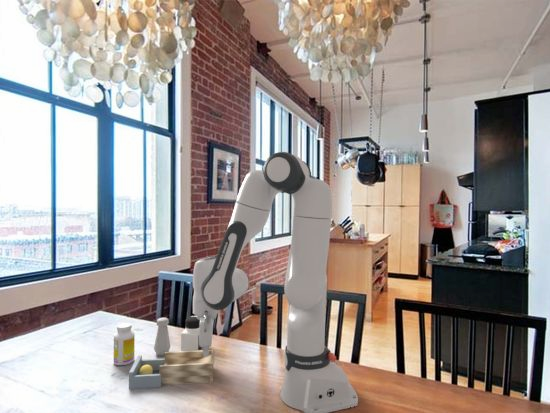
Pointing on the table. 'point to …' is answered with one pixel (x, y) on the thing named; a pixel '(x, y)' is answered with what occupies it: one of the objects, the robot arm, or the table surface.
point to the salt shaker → (162, 337)
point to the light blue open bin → (145, 380)
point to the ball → (145, 370)
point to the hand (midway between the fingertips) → (206, 349)
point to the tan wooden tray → (187, 367)
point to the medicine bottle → (191, 335)
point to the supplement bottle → (124, 344)
